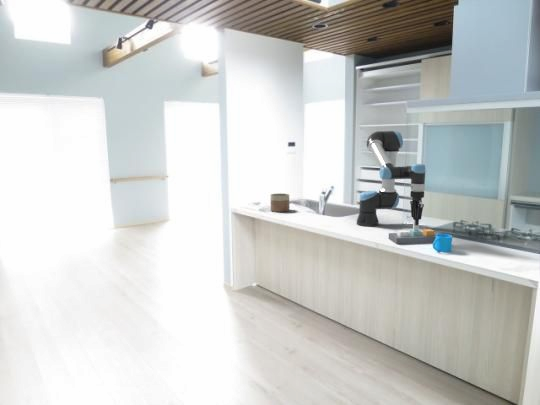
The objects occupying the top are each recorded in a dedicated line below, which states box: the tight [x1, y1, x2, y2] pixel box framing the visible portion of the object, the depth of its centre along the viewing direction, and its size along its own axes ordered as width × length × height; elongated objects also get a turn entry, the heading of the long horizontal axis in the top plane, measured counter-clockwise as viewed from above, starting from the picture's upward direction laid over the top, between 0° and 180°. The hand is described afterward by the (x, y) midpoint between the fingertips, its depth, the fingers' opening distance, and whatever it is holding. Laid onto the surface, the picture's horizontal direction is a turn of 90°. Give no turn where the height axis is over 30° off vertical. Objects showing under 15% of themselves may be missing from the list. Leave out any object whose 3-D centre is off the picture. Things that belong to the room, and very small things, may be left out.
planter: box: [270, 192, 290, 213], centre depth 336 cm, size 16×16×14 cm
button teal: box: [409, 229, 422, 236], centre depth 236 cm, size 5×5×4 cm
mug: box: [432, 233, 453, 253], centre depth 214 cm, size 12×8×8 cm
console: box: [388, 231, 438, 245], centre depth 236 cm, size 12×28×4 cm, turn 95°
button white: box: [396, 229, 409, 237], centre depth 235 cm, size 5×5×4 cm
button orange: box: [422, 228, 435, 236], centre depth 236 cm, size 5×5×4 cm
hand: (415, 230), depth 235 cm, fingers closed
